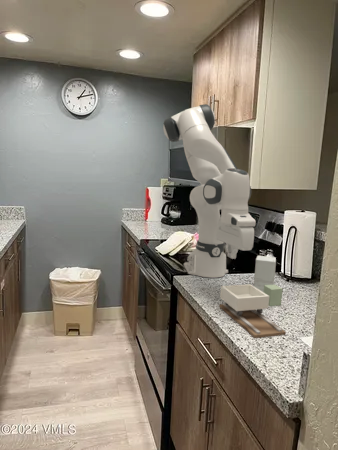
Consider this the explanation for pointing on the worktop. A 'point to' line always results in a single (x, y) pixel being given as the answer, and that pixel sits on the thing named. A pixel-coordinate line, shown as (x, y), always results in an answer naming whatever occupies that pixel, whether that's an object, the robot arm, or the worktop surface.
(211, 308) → the worktop surface
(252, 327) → the track
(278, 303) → the block
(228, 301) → the square white tray
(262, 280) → the supplement box
